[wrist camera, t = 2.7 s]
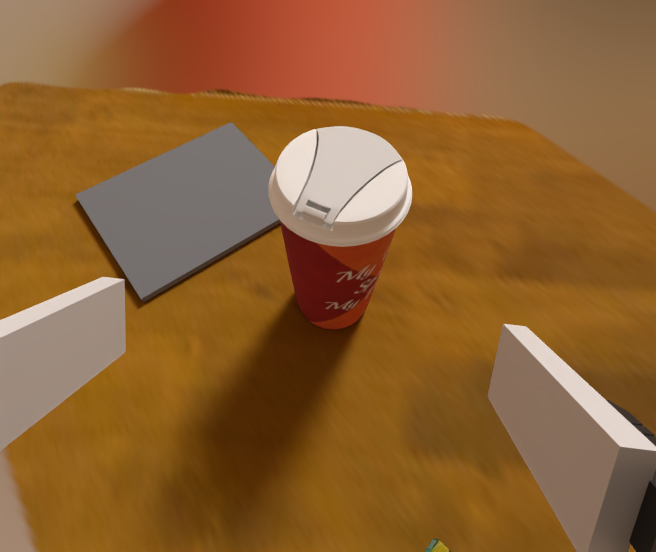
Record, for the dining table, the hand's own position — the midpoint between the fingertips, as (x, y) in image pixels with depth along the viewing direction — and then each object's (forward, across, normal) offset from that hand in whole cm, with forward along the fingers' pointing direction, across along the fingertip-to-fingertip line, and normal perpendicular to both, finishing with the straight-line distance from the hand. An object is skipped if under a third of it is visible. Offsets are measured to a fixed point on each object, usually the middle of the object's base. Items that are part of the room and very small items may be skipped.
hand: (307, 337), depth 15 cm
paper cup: (+19, 0, -4) cm, 19 cm away
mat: (+24, -13, +1) cm, 28 cm away
